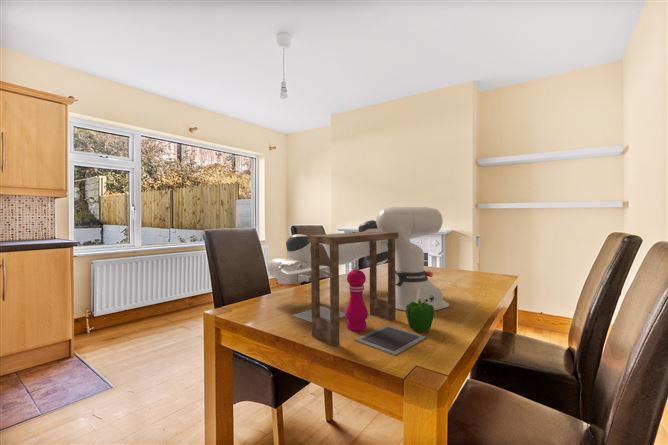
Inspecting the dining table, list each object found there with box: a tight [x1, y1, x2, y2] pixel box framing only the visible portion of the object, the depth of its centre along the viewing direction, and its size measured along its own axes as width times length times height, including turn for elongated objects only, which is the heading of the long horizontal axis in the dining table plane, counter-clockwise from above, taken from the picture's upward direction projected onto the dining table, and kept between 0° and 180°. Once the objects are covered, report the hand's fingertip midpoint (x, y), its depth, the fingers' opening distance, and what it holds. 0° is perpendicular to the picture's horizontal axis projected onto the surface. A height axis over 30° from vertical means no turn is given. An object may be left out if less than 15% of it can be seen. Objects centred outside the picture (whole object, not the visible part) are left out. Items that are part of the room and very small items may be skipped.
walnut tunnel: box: [307, 231, 399, 347], centre depth 97 cm, size 12×30×30 cm, turn 135°
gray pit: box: [353, 324, 427, 357], centre depth 88 cm, size 14×16×1 cm
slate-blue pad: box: [292, 305, 346, 324], centre depth 110 cm, size 14×14×1 cm
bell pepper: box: [405, 299, 435, 333], centre depth 95 cm, size 8×8×10 cm
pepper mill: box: [344, 264, 369, 332], centre depth 97 cm, size 7×7×20 cm
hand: (320, 276), depth 109 cm, fingers open, 8 cm apart
